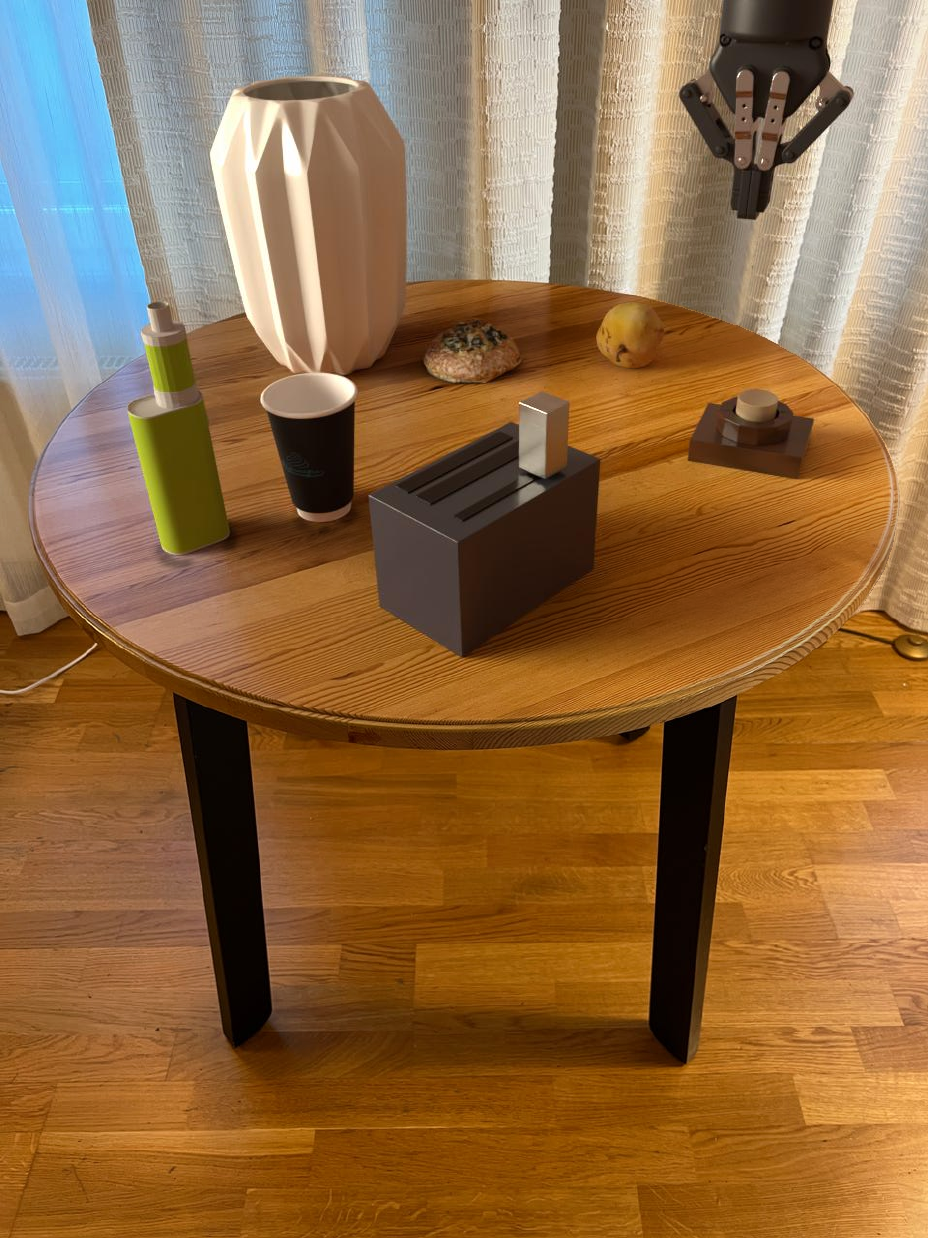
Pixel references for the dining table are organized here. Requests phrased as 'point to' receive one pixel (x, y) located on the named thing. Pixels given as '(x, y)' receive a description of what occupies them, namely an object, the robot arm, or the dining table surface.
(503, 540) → the toaster
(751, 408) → the power button
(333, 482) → the dixie cup
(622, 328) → the fruit
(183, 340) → the vape
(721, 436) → the block
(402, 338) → the dining table surface
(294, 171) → the vase
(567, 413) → the toaster slider
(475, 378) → the bread roll
